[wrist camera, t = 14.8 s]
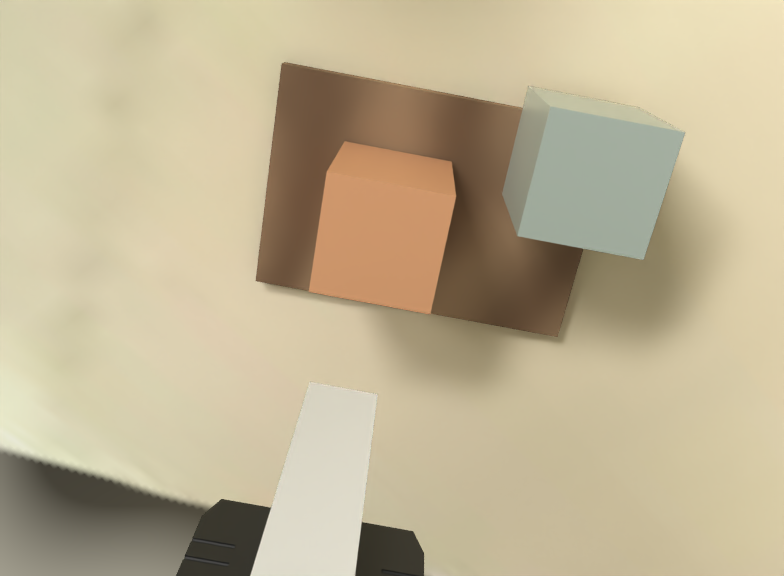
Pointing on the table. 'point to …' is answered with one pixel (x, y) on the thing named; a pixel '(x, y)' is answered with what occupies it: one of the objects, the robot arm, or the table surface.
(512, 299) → the stand
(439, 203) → the orange block
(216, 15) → the table surface
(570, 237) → the pale blue-grey block
